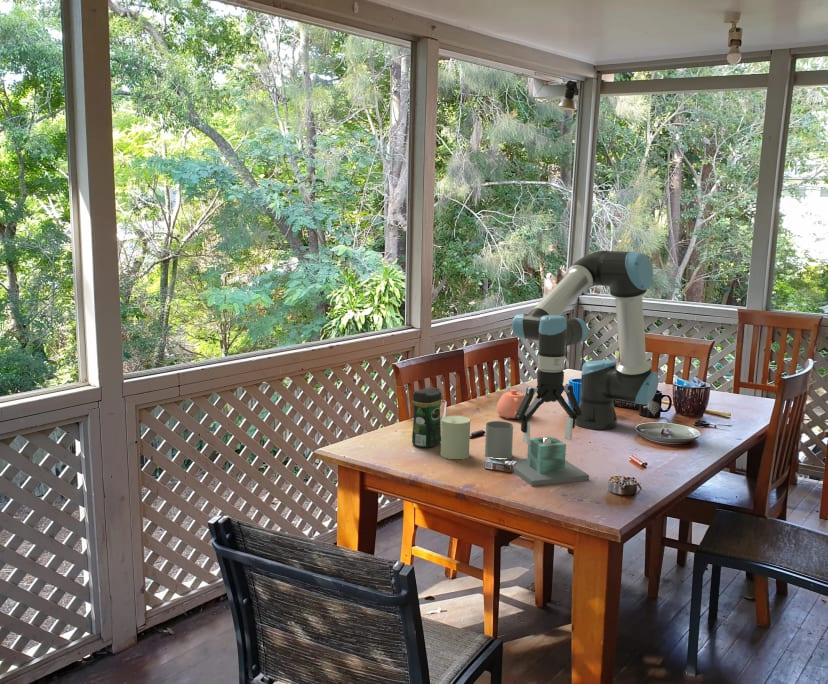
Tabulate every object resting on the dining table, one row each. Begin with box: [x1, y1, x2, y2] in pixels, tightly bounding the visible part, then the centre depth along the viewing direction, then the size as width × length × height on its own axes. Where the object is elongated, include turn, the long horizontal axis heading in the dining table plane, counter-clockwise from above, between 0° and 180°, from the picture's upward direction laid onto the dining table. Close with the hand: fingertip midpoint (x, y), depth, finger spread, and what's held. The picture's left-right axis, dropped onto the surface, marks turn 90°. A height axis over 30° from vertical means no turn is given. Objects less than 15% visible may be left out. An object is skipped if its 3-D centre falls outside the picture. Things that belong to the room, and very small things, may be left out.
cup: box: [484, 420, 514, 460], centre depth 238 cm, size 8×8×10 cm
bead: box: [526, 435, 567, 473], centre depth 223 cm, size 8×8×8 cm
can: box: [439, 415, 471, 460], centre depth 238 cm, size 9×9×12 cm
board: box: [513, 458, 590, 487], centre depth 224 cm, size 18×18×2 cm
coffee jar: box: [411, 386, 442, 448], centre depth 248 cm, size 10×8×19 cm
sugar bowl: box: [495, 389, 525, 420], centre depth 283 cm, size 12×14×10 cm
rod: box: [542, 436, 552, 444], centre depth 223 cm, size 2×2×9 cm
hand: (547, 441), depth 223 cm, fingers open, 13 cm apart
